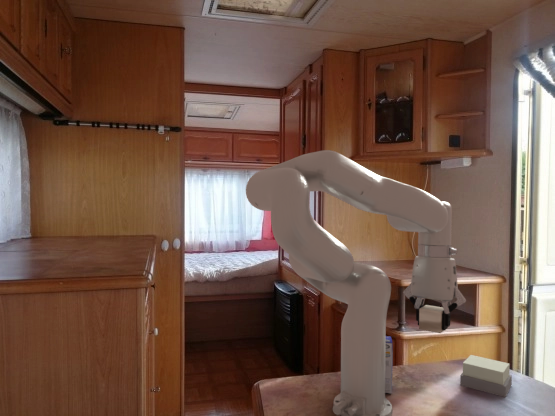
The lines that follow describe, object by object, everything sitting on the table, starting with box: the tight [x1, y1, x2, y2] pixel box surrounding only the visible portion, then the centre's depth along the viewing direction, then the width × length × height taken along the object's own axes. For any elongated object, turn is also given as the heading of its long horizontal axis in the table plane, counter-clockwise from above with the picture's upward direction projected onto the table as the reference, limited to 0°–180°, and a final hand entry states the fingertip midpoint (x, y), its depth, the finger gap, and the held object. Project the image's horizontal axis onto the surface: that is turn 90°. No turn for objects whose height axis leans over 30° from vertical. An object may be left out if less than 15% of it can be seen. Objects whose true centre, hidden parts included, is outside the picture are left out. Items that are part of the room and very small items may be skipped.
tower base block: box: [459, 372, 513, 398], centre depth 102 cm, size 8×10×3 cm
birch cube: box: [418, 304, 445, 334], centre depth 100 cm, size 5×5×5 cm
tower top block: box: [462, 354, 511, 385], centre depth 102 cm, size 7×9×3 cm
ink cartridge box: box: [385, 335, 394, 394], centre depth 101 cm, size 10×6×14 cm, turn 78°
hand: (432, 325), depth 100 cm, fingers closed on birch cube, 5 cm apart
